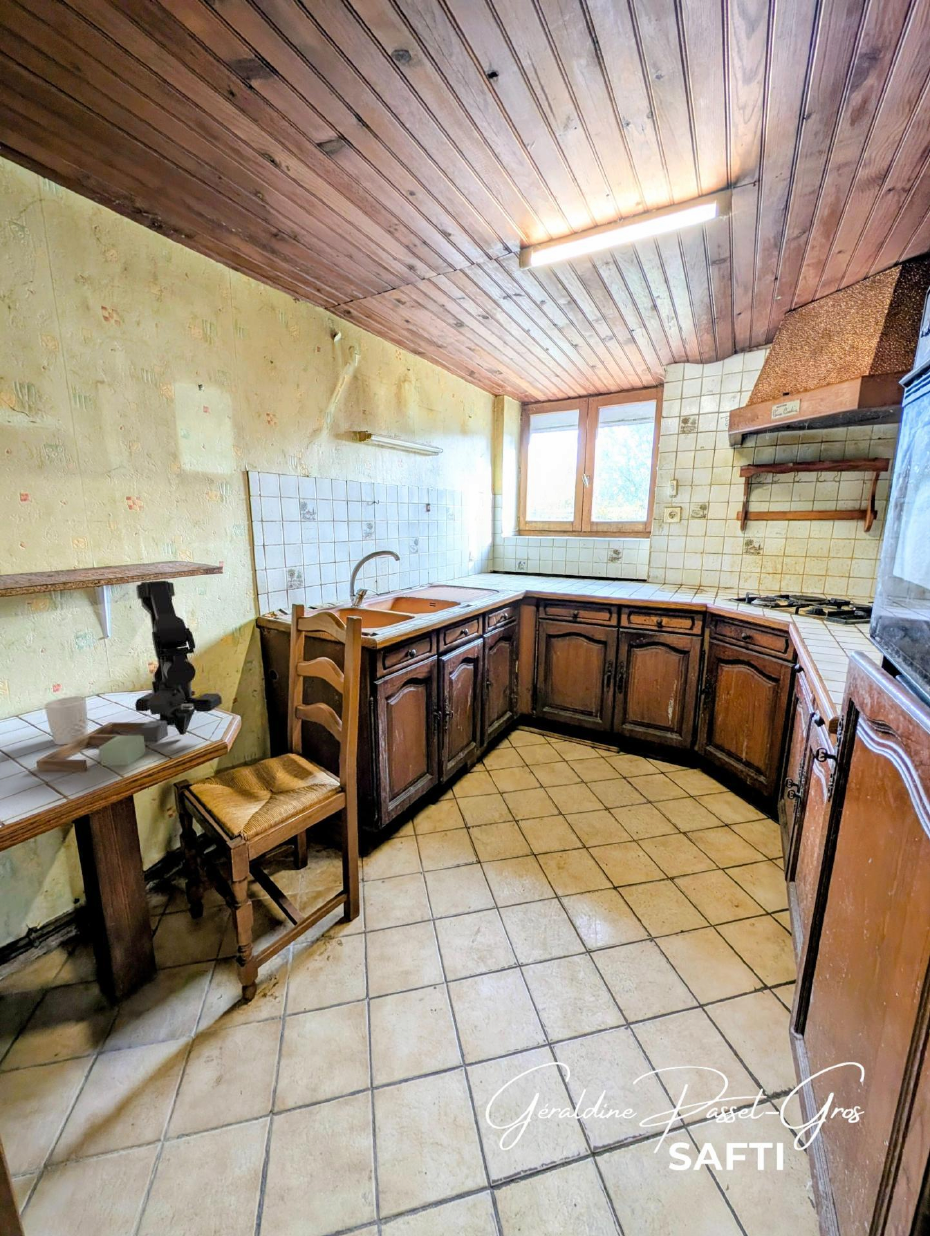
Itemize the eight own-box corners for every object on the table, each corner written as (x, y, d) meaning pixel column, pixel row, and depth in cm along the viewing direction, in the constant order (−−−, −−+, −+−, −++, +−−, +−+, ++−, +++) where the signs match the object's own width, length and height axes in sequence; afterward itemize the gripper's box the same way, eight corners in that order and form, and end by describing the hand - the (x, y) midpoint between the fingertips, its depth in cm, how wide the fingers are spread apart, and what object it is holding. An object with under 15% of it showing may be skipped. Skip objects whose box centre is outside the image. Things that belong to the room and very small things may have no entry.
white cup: (86, 730, 125) (80, 693, 123) (95, 738, 120) (89, 700, 118) (47, 740, 119) (41, 702, 117) (55, 749, 114) (48, 709, 112)
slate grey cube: (152, 735, 122) (151, 720, 121) (168, 735, 122) (166, 720, 121) (142, 742, 118) (140, 727, 117) (157, 742, 118) (155, 727, 117)
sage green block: (120, 753, 112) (117, 735, 112) (145, 753, 112) (143, 735, 112) (101, 766, 106) (98, 747, 106) (128, 765, 107) (125, 747, 106)
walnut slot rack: (111, 730, 125) (109, 722, 124) (149, 731, 124) (148, 722, 124) (37, 771, 104) (36, 761, 103) (84, 771, 104) (82, 761, 103)
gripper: (114, 685, 109) (123, 748, 112) (194, 685, 109) (201, 749, 111) (147, 671, 120) (154, 728, 123) (220, 671, 120) (225, 729, 122)
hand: (183, 734), depth 120 cm, fingers closed
